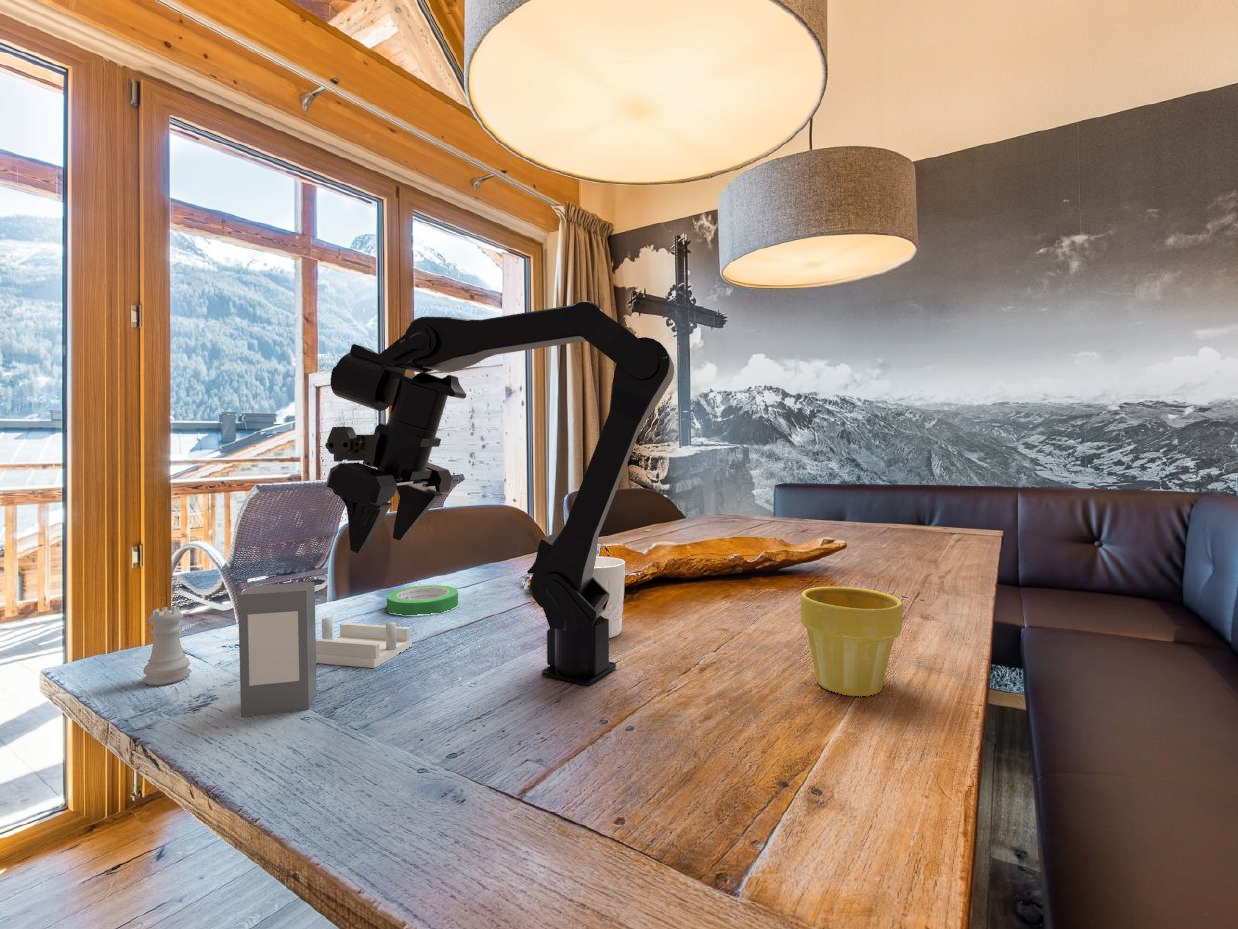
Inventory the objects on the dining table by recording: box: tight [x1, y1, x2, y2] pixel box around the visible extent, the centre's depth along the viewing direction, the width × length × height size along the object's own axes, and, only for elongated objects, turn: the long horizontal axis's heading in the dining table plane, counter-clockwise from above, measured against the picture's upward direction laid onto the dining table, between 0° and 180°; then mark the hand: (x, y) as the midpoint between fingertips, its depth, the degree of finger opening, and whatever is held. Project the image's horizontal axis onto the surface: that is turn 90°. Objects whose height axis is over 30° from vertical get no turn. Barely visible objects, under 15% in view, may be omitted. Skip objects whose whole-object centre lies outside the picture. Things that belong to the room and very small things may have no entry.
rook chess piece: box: [142, 605, 192, 687], centre depth 69 cm, size 4×4×8 cm
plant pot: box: [800, 586, 904, 698], centre depth 67 cm, size 10×10×10 cm
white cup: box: [592, 556, 626, 639], centre depth 86 cm, size 8×8×10 cm
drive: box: [237, 581, 318, 718], centre depth 62 cm, size 6×4×12 cm, turn 106°
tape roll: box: [386, 584, 459, 615], centre depth 100 cm, size 11×11×3 cm
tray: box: [316, 616, 413, 669], centre depth 77 cm, size 10×8×4 cm
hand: (377, 545), depth 74 cm, fingers open, 9 cm apart
